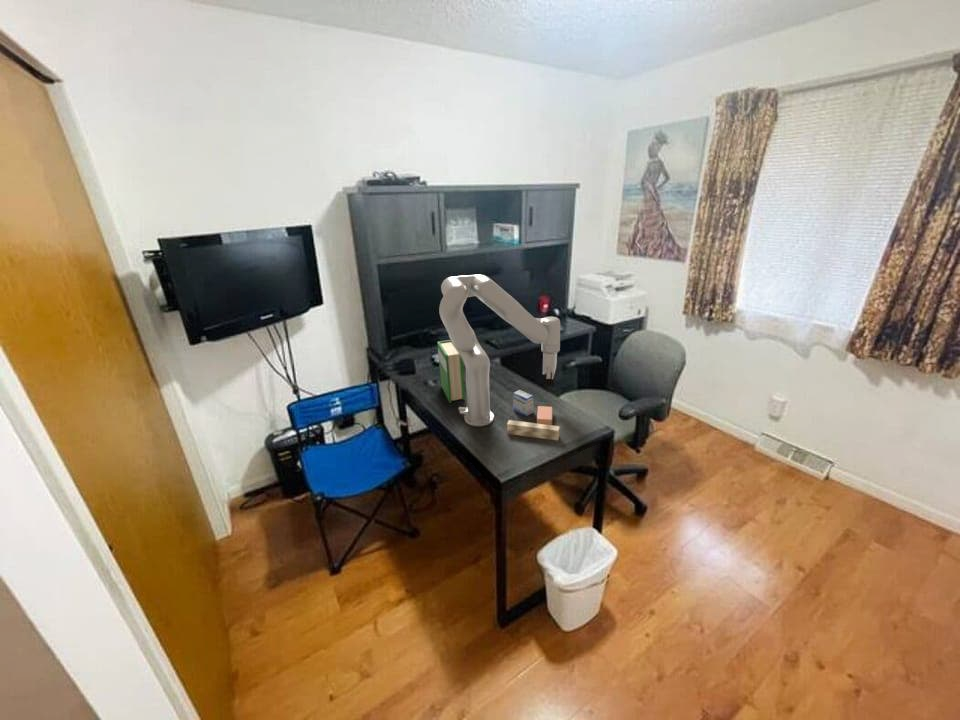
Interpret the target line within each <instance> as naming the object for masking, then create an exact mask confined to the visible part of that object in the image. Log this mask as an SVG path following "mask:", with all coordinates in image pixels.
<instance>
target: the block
mask: <svg viewBox="0 0 960 720" xmlns="http://www.w3.org/2000/svg"><path fill="white" fill-rule="evenodd" d="M536 414H537V415H536V416H537V417H536V423H537V424H545V425H553V406H545V405H544V406H543V405H538V406H537V413H536Z"/></svg>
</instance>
